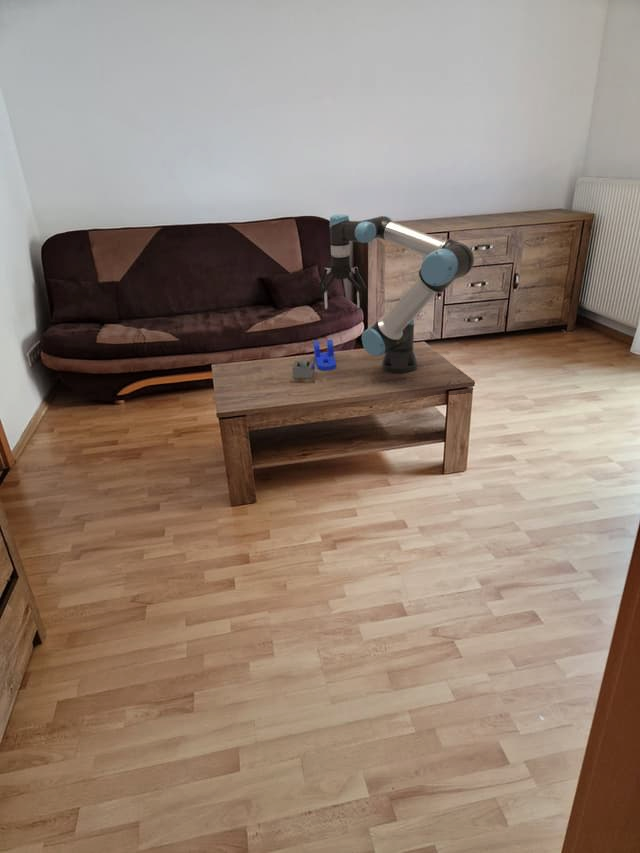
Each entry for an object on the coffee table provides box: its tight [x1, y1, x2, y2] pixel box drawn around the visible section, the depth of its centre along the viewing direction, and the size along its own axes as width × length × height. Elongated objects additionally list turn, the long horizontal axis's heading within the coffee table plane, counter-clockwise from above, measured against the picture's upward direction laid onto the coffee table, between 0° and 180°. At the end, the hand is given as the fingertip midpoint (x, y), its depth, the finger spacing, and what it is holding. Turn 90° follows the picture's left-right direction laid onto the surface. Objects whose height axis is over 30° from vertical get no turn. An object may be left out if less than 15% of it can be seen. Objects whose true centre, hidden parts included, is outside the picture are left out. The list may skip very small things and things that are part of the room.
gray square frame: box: [291, 360, 316, 379], centre depth 239 cm, size 8×8×5 cm
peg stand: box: [290, 358, 318, 384], centre depth 239 cm, size 10×10×8 cm
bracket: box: [313, 339, 337, 372], centre depth 253 cm, size 18×8×9 cm, turn 6°
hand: (342, 307), depth 238 cm, fingers open, 13 cm apart
